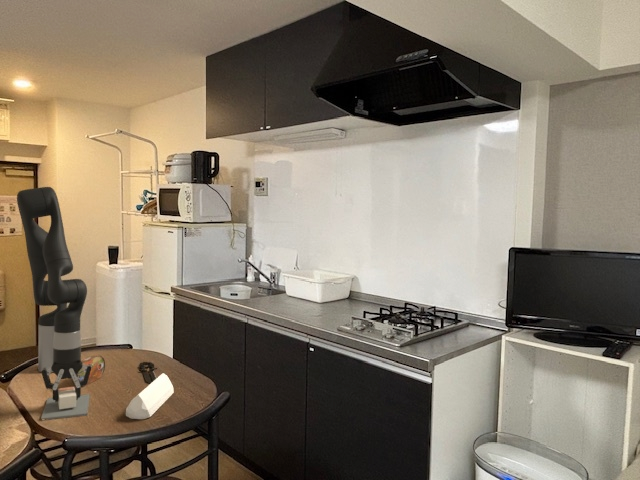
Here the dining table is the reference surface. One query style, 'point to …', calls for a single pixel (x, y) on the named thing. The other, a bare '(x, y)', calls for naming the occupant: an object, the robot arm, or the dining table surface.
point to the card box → (66, 397)
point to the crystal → (150, 398)
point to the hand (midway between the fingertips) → (66, 399)
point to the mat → (66, 409)
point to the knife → (145, 372)
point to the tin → (93, 368)
